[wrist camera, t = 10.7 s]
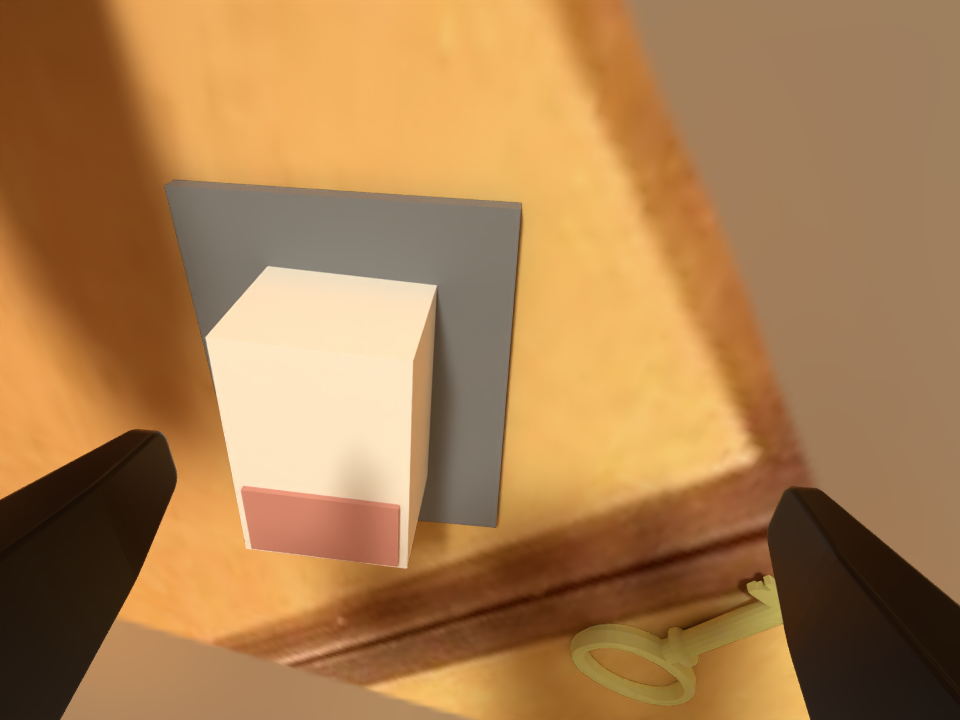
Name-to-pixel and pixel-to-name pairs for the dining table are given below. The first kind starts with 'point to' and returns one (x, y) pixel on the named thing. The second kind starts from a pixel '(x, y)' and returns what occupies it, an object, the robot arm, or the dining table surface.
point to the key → (674, 646)
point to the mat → (391, 256)
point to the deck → (327, 412)
